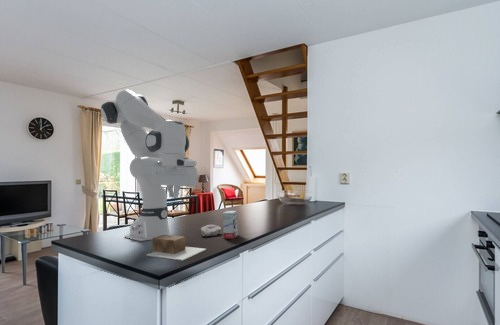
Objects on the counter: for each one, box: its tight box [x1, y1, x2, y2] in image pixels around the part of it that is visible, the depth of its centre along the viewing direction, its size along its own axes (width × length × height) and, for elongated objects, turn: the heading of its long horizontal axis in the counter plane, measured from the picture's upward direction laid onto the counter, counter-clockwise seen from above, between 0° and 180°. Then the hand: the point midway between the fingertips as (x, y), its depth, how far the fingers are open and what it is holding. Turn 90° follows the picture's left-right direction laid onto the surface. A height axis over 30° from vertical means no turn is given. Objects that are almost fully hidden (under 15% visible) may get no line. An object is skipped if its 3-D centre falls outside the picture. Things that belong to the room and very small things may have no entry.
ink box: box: [222, 210, 239, 240], centre depth 127 cm, size 9×5×12 cm, turn 168°
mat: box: [146, 246, 207, 262], centre depth 104 cm, size 17×14×1 cm
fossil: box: [200, 224, 222, 237], centre depth 133 cm, size 9×6×10 cm
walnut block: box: [151, 235, 186, 254], centre depth 106 cm, size 5×6×11 cm
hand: (173, 197), depth 106 cm, fingers closed
